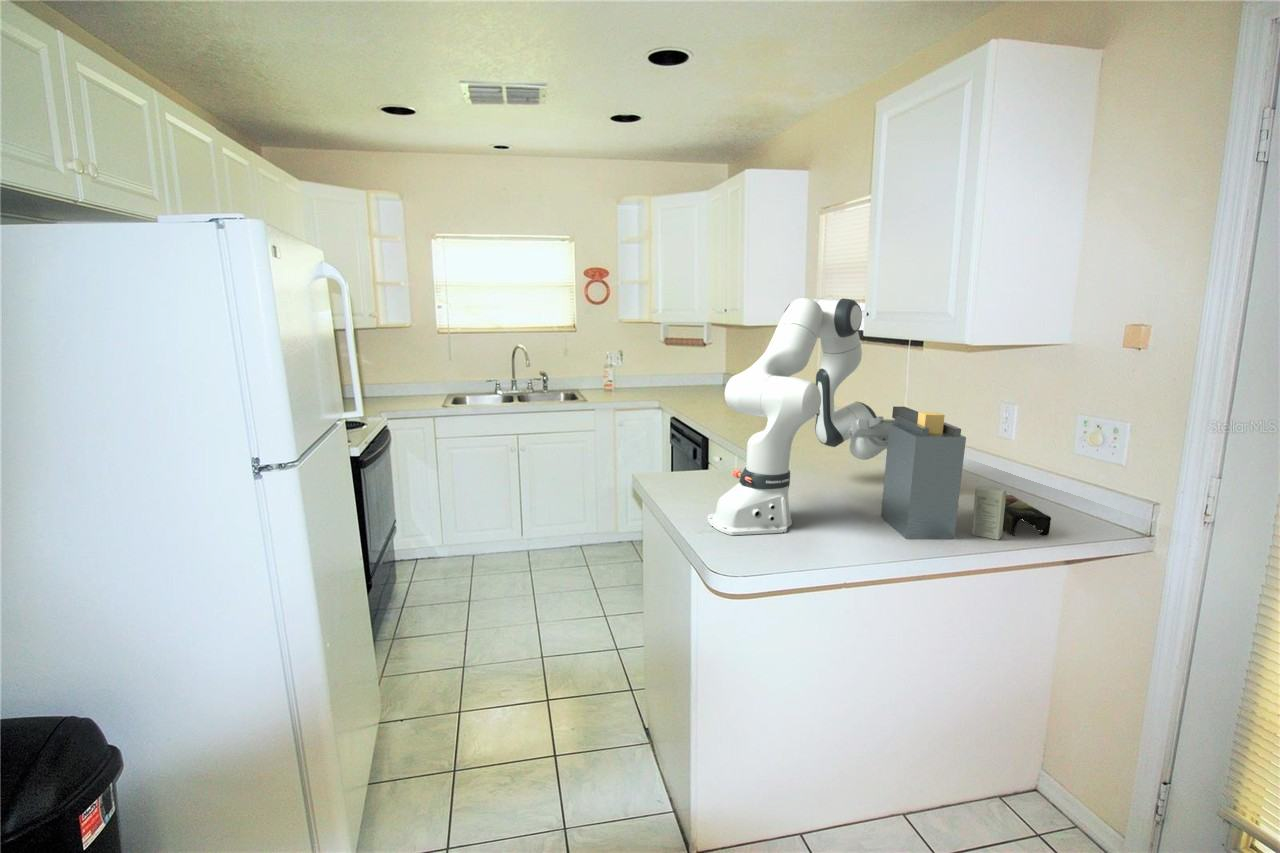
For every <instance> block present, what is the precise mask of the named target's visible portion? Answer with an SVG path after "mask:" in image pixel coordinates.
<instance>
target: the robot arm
mask: <svg viewBox="0 0 1280 853" xmlns="http://www.w3.org/2000/svg"><path fill="white" fill-rule="evenodd" d="M862 314H863V313H862V309H861V306H860V305H859V303H858V302H857V301H856V300H853V299H852V298H841V299H839V298H808V297H800V298H796V299H794V300H793V301H792V302H791V303H789V304H787V307H786V308H785V309H784V312H783V315H782V316H781V318H780V320H779V322H778V324H777V326H776V328H775V331H774V333H773V335H772V338H771V340H770V342H769V344H768V345H767V348H766V350H765V351H764V353H763V354H762V355H761V356H760V357H759V358H758V359H757V360H756V361H755V362H754V363H753V364H752V365H751V366H750V367H748V368H747V369H745V370H744V371H742V372H740V373H737V374H735V375H733V376H731V378H729V380H728V381H727V382H726V385H725V388H724V400H725V403H726V405H727V407H728V408H729V409H730V410H732V411H735V412H737V413H740V414H743V415H747V416H755V417H759V418H767V423H766V426H765V428H764V429H762V430H760V431H757V432H755V433H754V434H753V435H751V436H750V437H749V439H748V441H747V443H746V461H745V464H746V465H745V467H744V469H743V471H741V470H739V469H734V470H733V471H732V473H731V474H732V476H733V478H736V479H739V480H738V481H739V482H738V483H737V484H735V485H733V487H731V488H730V489H729V490H728V491H726V492H725V493H723V495H721V496H720V497H719V498H718V501H717V503H716V509H715V512H714V513H709V514H708V515H707V518H706V521H707V523H708V522H709V523H708V524H709V525H710V526H711V527H712V526H713V527H712V528H714V529H715V530H718V532H721V533H723V534H726V535H730V536H741V535H742V536H743V535H746V536H747V535H762V534H765V535H767V534H778V533H779V534H780V533H782V534H783V532H784V533H787V531H788V528H789V527H791V526H792V524H793V521H792V516H791V511H790V502H789V501H790V498H789V488H790V484H791V470H790V461H791V460H790V457H791V451H792V444H793V440H794V438H795V436H796V434H797V432H798V431H799V430H800V428H802V426H803V425H804V424H806V423H807V422H808V421H810V420H811V419H813V418H814V417H816V418H815V425H814V431H815V436H816V438H817V440H818V441H819V442H820V443H821V444H822V445H824V446H828V447H831V448H836V447H838V446H840V445H841V444H843V443H844V442H845V441H847V440H850V444H849V453H850V454H851V455H852V456H853V457H854V458H856V459H857V460H863V461H864V460H870V459H873V458H875V457H876V456H878V455H879V454H880V453H882V452H883V451H885V450H887V445H888V434H889V424H895V419H894V418H892V419H888V418H886V419H885V418H884V416H881V415H880V416H877V414H876V413H875V411H874V410H873V408H871V407H870V406H869V405H867V404H865V403H864V402H860V401H854V402H852V403H850V404H848V405H846V406H843V407H842V408H840V409H837V410H835V394H836V391H837V389H838V388H839V386H840V385H841V384H842V383H843V382H844V380H846V379H847V378H848V377H849V376H850V375H851V374H853V373H854V372H855V371H856V369H857V368H858V367H859V365H860V364H861V361H862V357H863V355H862V354H863V353H862V351H863V350H862V345H861V340H860V339H861V338H860V334H859V330H860V328H861V326H862V320H863V315H862ZM818 339H820V345H821V354H822V357H821V364H820V367H819V369H818V371H817V372H816V375H815V382H812V381H810V380H806V379H804V378H799V377H795V376H793V375H797V374H798V373H800V372H802V371H803V370H804V369H805V368H806V367H807V365H808V363H809V361H810V359H811V356H812V354H813V351H814V348H815V345H816V343H817V340H818Z"/></svg>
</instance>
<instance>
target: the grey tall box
mask: <svg viewBox="0 0 1280 853" xmlns="http://www.w3.org/2000/svg"><path fill="white" fill-rule="evenodd" d="M966 443H967V437H966V436H964V435H962V428H959V427H957V426H956V425H953V424H950V423H947V422H946V421H944V425H943V433H929V428H927V427H924V426H922V425H920V424H917V423H915V422H913V421H910V420H908V419H906V418H903V417H901V416H895V424H889V434H888V445H887V449H886V459H885V469H884V478H883V490H882V491H883V492H882V502H881V510H880V511H881V512H880V518H881V519H883V520H884V522H886V523H887V524H888V525H889V526H891V527H892V528H893V529H894V530H895V531H896V532H898V533H899V535H901V536H902V537H903V538H904V539H906V540H955V536H956V535H955V534H956V526H957V517H958V511H959V501H960V500H959V499H960V492H961V483H962V478H963V477H962V475H963V469H964V468H963V467H964V459H965V449H966Z"/></svg>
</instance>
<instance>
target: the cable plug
mask: <svg viewBox="0 0 1280 853" xmlns="http://www.w3.org/2000/svg"><path fill="white" fill-rule="evenodd" d="M895 416H901V417H903V418H906V419H908V420H910V421H913V422H915V423H917V424H920V425H922V426H924V427H927V428H929V433H943V425H944V422H945V417H946V416H945V414H943V413H939V412H937V411H935V412H934V411H933V412H932V411H917V410H914V409H912V408H910V407H906V406H892V416H891V418H892V419H895Z"/></svg>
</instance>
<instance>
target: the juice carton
mask: <svg viewBox="0 0 1280 853" xmlns="http://www.w3.org/2000/svg"><path fill="white" fill-rule="evenodd" d="M1021 519H1023V520H1024V521H1026V522H1028V523H1029V524H1031V525H1032V526H1033V527H1034V529H1035V528H1036V529H1037V530H1036V529H1035V530H1036V531H1038V530H1040V531H1039V535H1041V536H1045V535H1046V537H1048V535H1050V529H1051V521H1052V516H1050V515H1048V514H1045V513H1044V512H1043V511H1041V510H1039V509H1037V508H1036V507H1034V506H1032V505H1029V504H1028V503H1026V502H1025V501H1023V500H1021V499H1019V498H1018V497H1016V496H1014V495H1012V494H1006V502H1005V511H1004V521H1003V532H1005V531H1006V533H1007V534H1008V535H1009V534H1010V536H1011V535H1012V536H1011V537H1016V534H1014V533H1015V530H1016V527H1017V526H1018V524H1019V522H1020V521H1022V520H1021ZM1024 521H1023V522H1024ZM1026 522H1025V523H1026ZM1028 523H1027V524H1028ZM1029 524H1028V525H1029ZM1031 525H1030V526H1031ZM1032 526H1031V527H1032Z"/></svg>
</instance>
